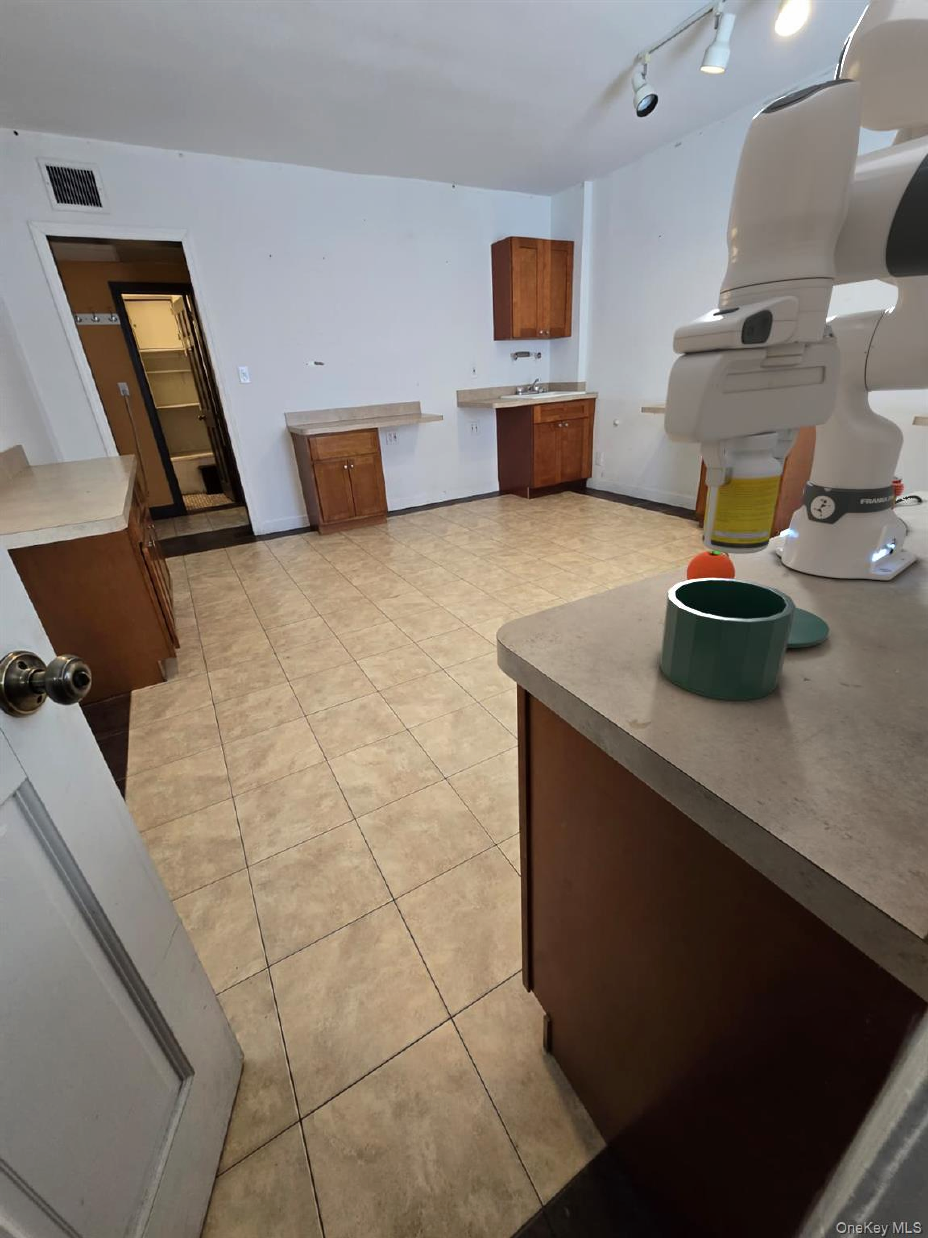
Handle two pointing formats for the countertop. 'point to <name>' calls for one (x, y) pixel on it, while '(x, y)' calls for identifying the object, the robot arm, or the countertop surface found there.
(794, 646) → the lid
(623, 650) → the countertop surface
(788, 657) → the countertop surface
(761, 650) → the tin
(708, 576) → the clementine
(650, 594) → the countertop surface
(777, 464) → the pill bottle
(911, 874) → the countertop surface
